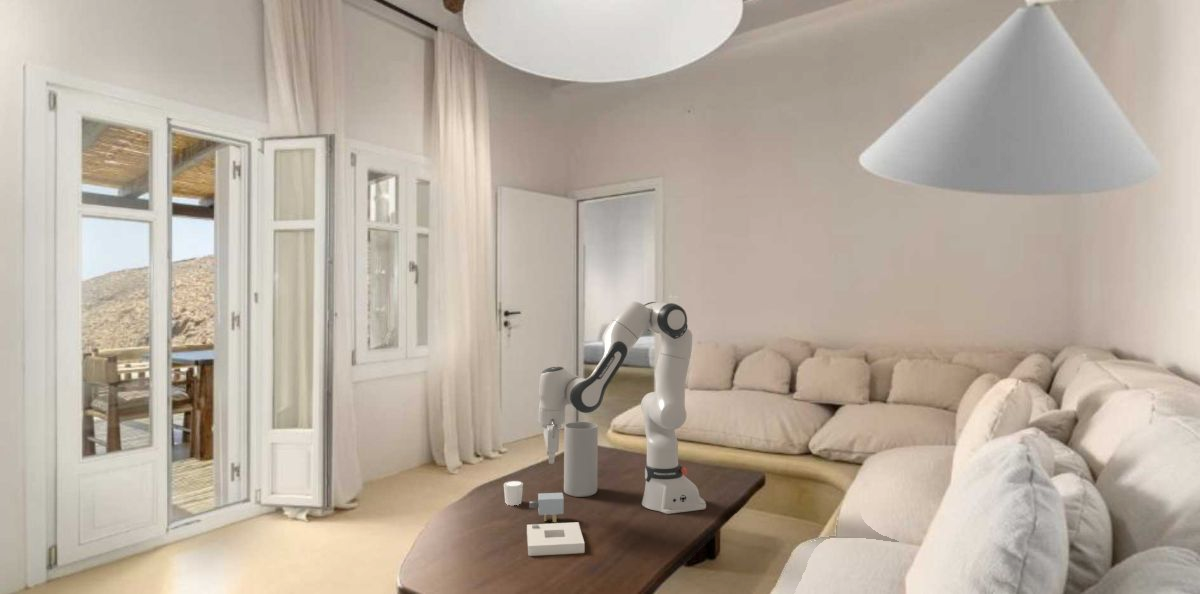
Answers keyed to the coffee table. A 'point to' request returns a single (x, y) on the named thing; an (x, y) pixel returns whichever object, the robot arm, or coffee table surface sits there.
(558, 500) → the plug
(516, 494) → the shot glass
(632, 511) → the coffee table surface
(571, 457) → the cylinder vase
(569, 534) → the socket plate
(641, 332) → the robot arm
